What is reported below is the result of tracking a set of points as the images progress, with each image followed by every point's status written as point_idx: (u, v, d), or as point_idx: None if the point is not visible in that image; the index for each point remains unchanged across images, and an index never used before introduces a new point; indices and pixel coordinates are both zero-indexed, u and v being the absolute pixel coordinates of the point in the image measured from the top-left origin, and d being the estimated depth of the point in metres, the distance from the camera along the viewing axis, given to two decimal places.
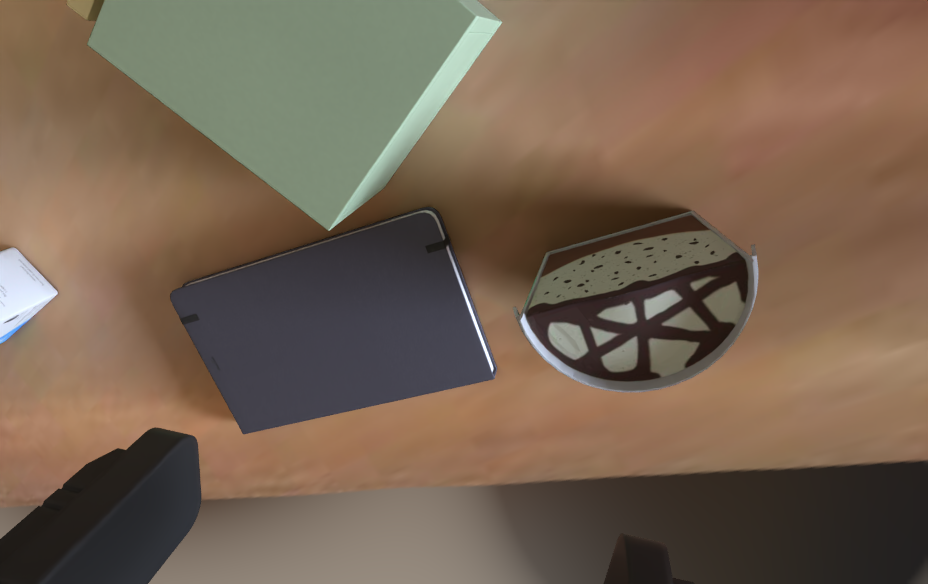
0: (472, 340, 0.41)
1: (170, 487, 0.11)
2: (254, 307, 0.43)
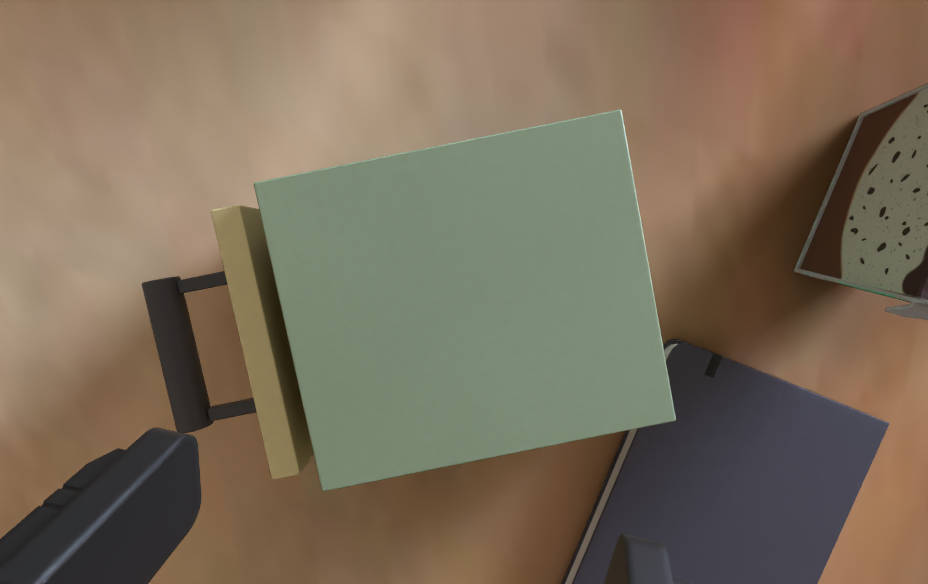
0: (832, 411, 0.33)
1: (170, 487, 0.11)
2: None
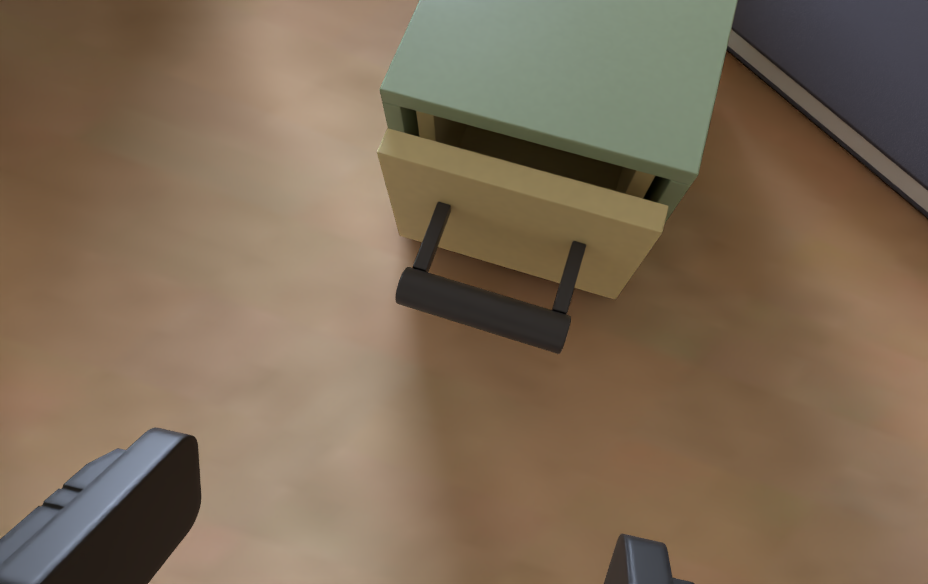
0: None
1: (171, 487, 0.11)
2: (923, 125, 0.32)
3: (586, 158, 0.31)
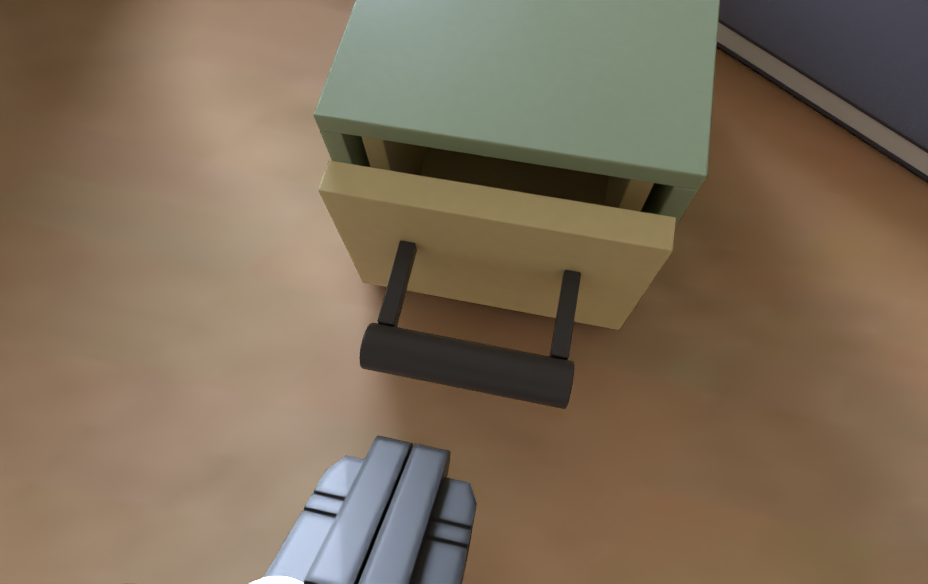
0: None
1: None
2: None
3: (566, 171, 0.27)
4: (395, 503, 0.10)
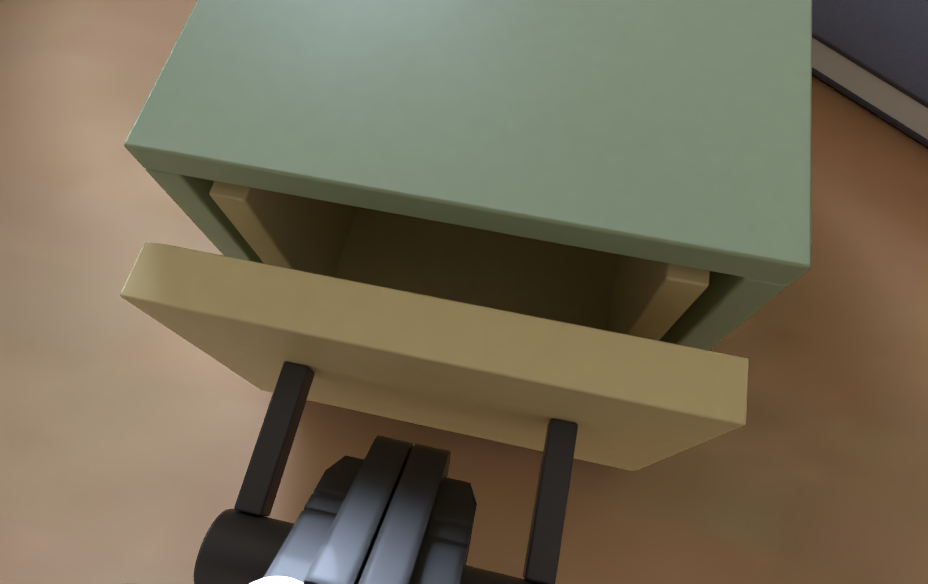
0: None
1: None
2: None
3: None
4: (395, 503, 0.10)
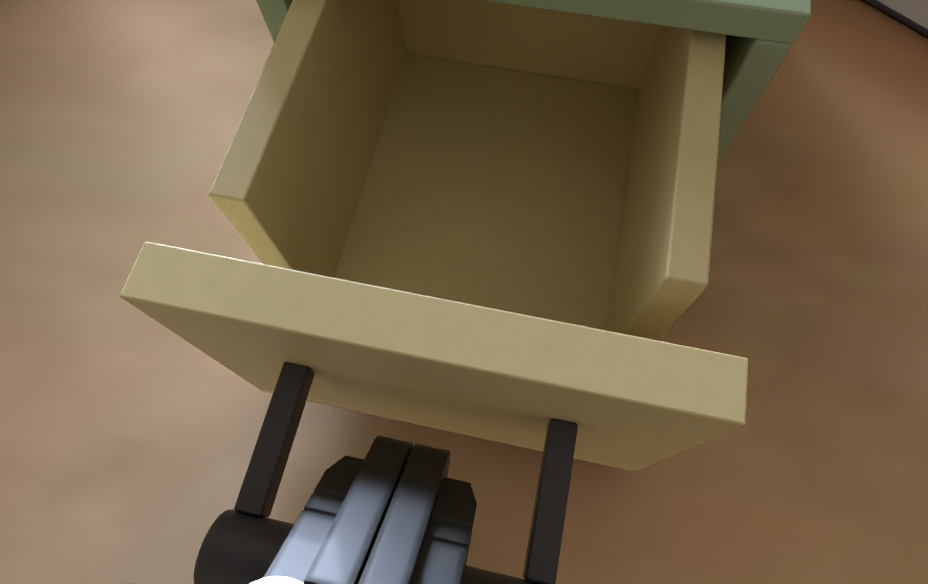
0: None
1: None
2: None
3: (558, 230, 0.19)
4: (395, 503, 0.10)
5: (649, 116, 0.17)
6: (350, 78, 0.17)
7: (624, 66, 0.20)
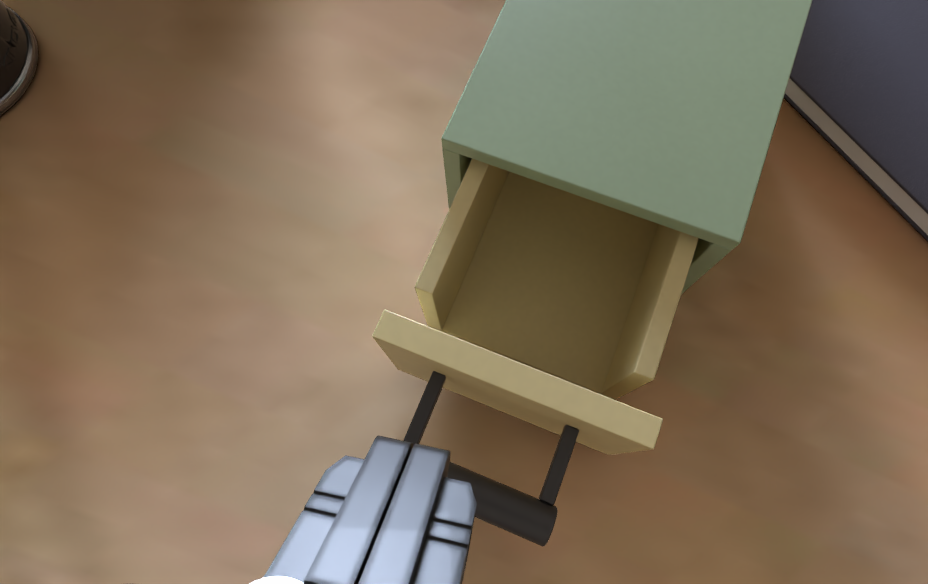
0: None
1: None
2: None
3: (591, 303, 0.30)
4: (395, 503, 0.10)
5: (657, 251, 0.28)
6: (483, 203, 0.28)
7: None
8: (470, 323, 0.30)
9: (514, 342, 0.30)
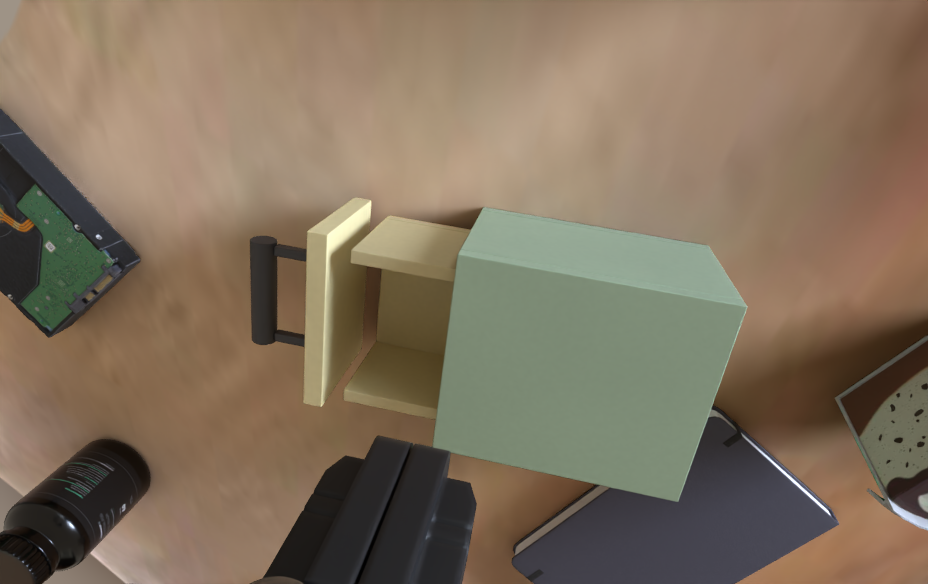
0: (802, 500, 0.42)
1: None
2: (587, 546, 0.47)
3: (435, 329, 0.42)
4: (395, 503, 0.10)
5: None
6: None
7: None
8: None
9: (391, 281, 0.41)
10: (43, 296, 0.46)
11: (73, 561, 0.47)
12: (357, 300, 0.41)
